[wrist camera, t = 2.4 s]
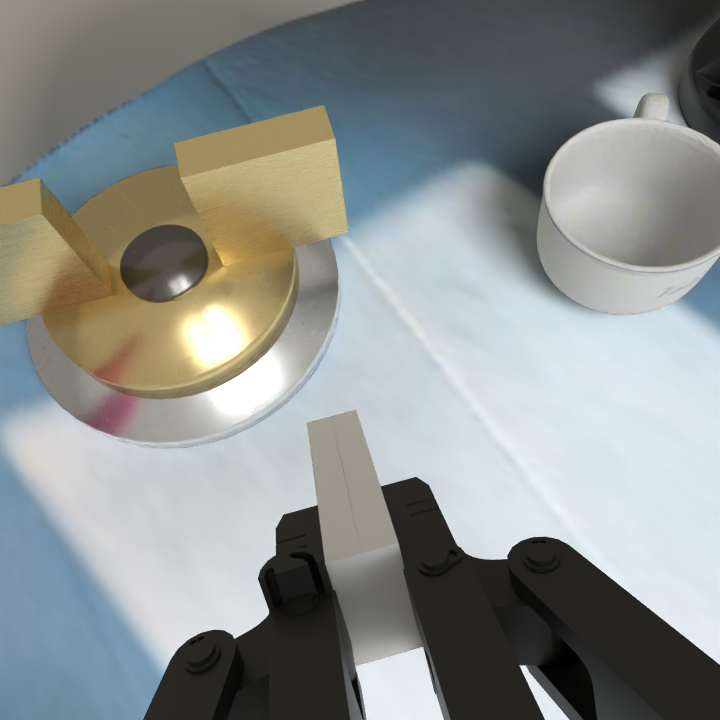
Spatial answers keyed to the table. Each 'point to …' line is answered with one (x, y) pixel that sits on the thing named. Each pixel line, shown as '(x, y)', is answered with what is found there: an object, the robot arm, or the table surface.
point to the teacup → (631, 212)
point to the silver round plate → (220, 405)
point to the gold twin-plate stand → (176, 256)
